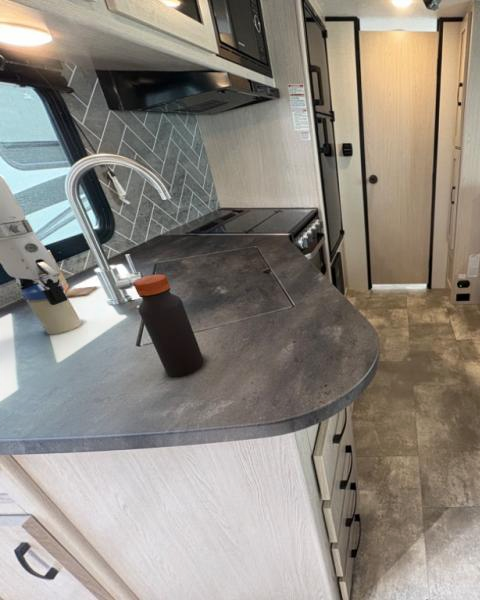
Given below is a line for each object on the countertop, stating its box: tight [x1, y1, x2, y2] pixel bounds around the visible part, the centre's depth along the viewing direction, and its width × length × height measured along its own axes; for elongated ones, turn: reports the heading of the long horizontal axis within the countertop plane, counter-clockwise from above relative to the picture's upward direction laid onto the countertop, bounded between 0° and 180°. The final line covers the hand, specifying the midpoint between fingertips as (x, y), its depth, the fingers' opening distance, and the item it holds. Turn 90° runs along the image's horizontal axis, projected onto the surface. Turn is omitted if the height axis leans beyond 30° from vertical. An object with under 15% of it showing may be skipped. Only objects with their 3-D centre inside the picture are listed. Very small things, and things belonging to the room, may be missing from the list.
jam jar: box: [26, 291, 82, 335], centre depth 79 cm, size 7×7×11 cm
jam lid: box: [20, 284, 64, 301], centre depth 77 cm, size 7×7×2 cm
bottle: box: [132, 273, 205, 378], centre depth 61 cm, size 7×7×20 cm
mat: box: [65, 286, 98, 298], centre depth 101 cm, size 6×6×1 cm
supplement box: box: [35, 249, 70, 293], centre depth 98 cm, size 8×5×13 cm, turn 34°
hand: (48, 300), depth 78 cm, fingers closed on jam lid, 6 cm apart
